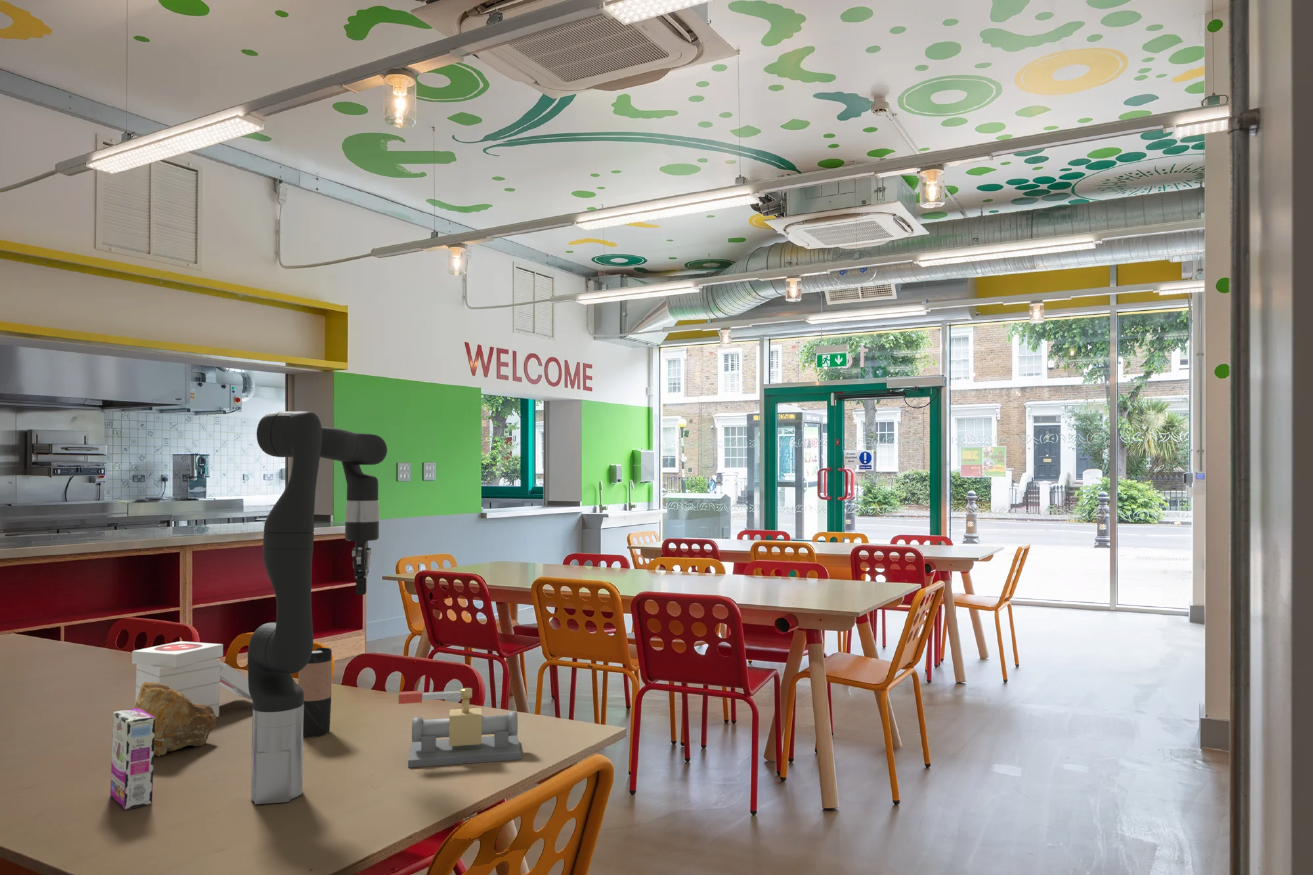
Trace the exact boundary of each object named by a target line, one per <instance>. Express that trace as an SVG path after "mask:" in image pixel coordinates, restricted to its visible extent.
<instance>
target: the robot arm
mask: <svg viewBox="0 0 1313 875" xmlns="http://www.w3.org/2000/svg"><path fill="white" fill-rule="evenodd" d="M256 440H257V444H258V446H259V448H260V449H261V451H262V452H264V453H265V454H267V455H269V456H271V457H275V458H292V466H291V472H290V477H289V480H288V482H287V485H286V487H285V488H284V490H283V492H282V494H281V495H280V497H279V498H278V499H277V501H276V502H275V504H274V505H273V507H272V508H271V510H270V511H269V513H268V515H267V517H266V519H265V522H264V526H263V536H262V537H263V538H262V540H263V541H262V559H263V563H264V566H265V570H266V572H267V575H268V578H269V581H270V583H271V586H272V588H273V592H274V594H275V599H276V601H275V602H276V618H275V619H276V620H275V622H267V623H264V624H261V625H260V626H258V628H256V630H255V631H254V632H253V633H252V635H251V637H250V639H249V643H248V648H247V678H248V688H249V693H250V696H251V698H252V700H251V701H252V719H251V720H252V722H251V723H252V725H251V726H252V727H251V766H250V767H251V770H250V772H251V773H250V775H251V776H250V779H251V781H250V800H251V801H252V802H254V805H263V804H264V805H267V804H278V803H279V804H280V803H289V802H290V801H292V800H293V799H295V798H297V797H299V796H301V795H302V793H303V774H304V773H303V772H304V771H303V769H304V768H303V766H304V765H303V764H304V763H303V759H304V753H303V752H304V737H303V717H304V692H303V690H302V688H301V687H300V686H298V683H297V682H296V681H295V679H294V678H293V676H292V674H296V673H299V671H300V670H302V669H303V668H304V667H305V666H306V665H307V663H308V662H309V660H310V657H311V654H312V651H313V650H314V625H313V612H312V610H313V609H312V575H313V574H312V572H313V570H312V569H313V555H314V554H313V553H314V543H315V542H314V541H315V540H314V539H315V538H314V537H315V506H316V505H315V504H316V503H315V502H316V489H317V488H316V487H317V483H318V482H317V480H318V475H319V466H320V458H322V459H327V460H331V461H332V460H333V461H337V462H341V465H342V468H343V472H344V473H343V474H344V476H345V481H346V482H345V483H346V506H345V510H344V511H345V512H344V513H345V514H344V515H345V517H344V518H345V519H344V521H345V522H344V539H345V541H348V542H355V544H354V546H355V547H353V548H352V550H351V556H352V568H353V576H354V578H355V594H356V595H357V596H364V595H366V594H367V583H368V582H367V578H368V576H369V573H370V570H369V569H370V566H371V556H372V547H369V542H371V541H377V540H379V537H380V507H379V479H378V478H377V477H376V476H374V475H370V474H366V473H364V472H363V470H362V469H361V466H365V465H366V466H370V465H371V466H372V465H373V466H374V465H375V466H376V465H378V464H381V462H383V461H384V460H385V458H386V457H387V455H388V447H387V446H388V445H387V443H386V442H385V440H384V439H383V438H382V436H380V435H377V434H373V433H372V434H371V433H362V432H361V433H357V432H353V431H349V430H347V429H346V430H345V429H342V428H335V427H329V426H328V427H327V426H322V423H321V420H320V418H319V416H318V414H316V412H315V413H314V412H313V411H304V410H303V411H302V410H301V411H298V410H297V411H293V410H292V411H280V410H279V411H273V412H268V413H267V414H265V415H263V417H262V418H261V419H260V420H259V422H258V423H257V428H256Z"/></svg>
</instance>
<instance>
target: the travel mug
mask: <svg viewBox="0 0 1313 875" xmlns="http://www.w3.org/2000/svg"><path fill="white" fill-rule="evenodd" d="M332 653H333V652H332V648H329V647H317V648H316V649H315V650H314V649H313V650H312V654H311V657H310V660H309V662H308V663H307V665H306V666H305V667H304V668H303V669H302V670H300V671H299V672H298V678H297V680H298V681H297V682H298V683H297V685H298V686H300V687H301V688H302V690H303V692H304V717H303V738H316V737H322V736H326V735H327V734H329V733H330V728H331V713H332V712H331V709H332V708H331V707H332V667H333V666H332V664H333V663H332V655H333V654H332ZM325 734H326V735H325Z"/></svg>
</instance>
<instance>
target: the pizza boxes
mask: <svg viewBox="0 0 1313 875" xmlns="http://www.w3.org/2000/svg"><path fill="white" fill-rule="evenodd" d="M131 654H132V655H131V664H132V665H135V664H136V669H135V670H136V674H135V675H136V676H135V678H136V679H135V680H136V681H135V702H136V701H137V698H138V695H139V692H140V689H141V686H142V684H143V683H145V682H156V683H160V684H163V685H167V686H169V688H170V689H173V690H174V691H177V692H180V693H182V694H183V695H185V697H186V698H188V699H189V700H190V701H191V702H192V703H193V704H194V703H197V704H202V705H209V706H210V707H211V708H212V709H213V711H214V713H215V716H216V718H217V717H220V687H221V686H223V687H224V688H225V689H227V691H230V692H231V693H233V694H235V695H236V696H239V697H243V698H245V699H248V700H250V701H252V698H251V696H250V693H249V688H248V677H247V676H245V675H243V674H242V673H241V672H239V671H238V670H236V669H235V668H234V667H232V666H231V665H229V664H227V663H225V662H222V661H221V659H220V658H221V657H223V656H224V644H223V643H210V642H197V641H196V642H195V641H182V640H181V641H175V642H170V643H165V644H160V645H155V646H151V647H146V648H141V649H136V650H133V651H132V650H131ZM220 685H221V686H220Z"/></svg>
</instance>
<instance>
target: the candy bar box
mask: <svg viewBox="0 0 1313 875" xmlns="http://www.w3.org/2000/svg"><path fill="white" fill-rule="evenodd" d="M112 713H113V714H112V717H113V718H112V737H111V738H112V741H111V763H110V764H111V767H110V768H111V769H110V770H111V771H110V788H109V789H110V792H109V794H110V795H109V796H110V798H112V797H113V798H112V799H113V800H114V799H115V800H114V801H115V802H116V801H117V802H118V803H117V802H116V803H117V804H118V805H120V806H121V808H122V809H124V810H127V811H128V810H131V809H135V808H140V807H144V806H145V805H146V806H148V805H152V804H153V789H154V788H153V785H154V783H153V782H154V760H155V759H154V756H155V754H154V737H155V717H153V716H152V715H150V714H148V713H147V712H145V711H143V710H142V709H140V708H135V707H134V708H128V709H122V710H117V711H113V712H112Z"/></svg>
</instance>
